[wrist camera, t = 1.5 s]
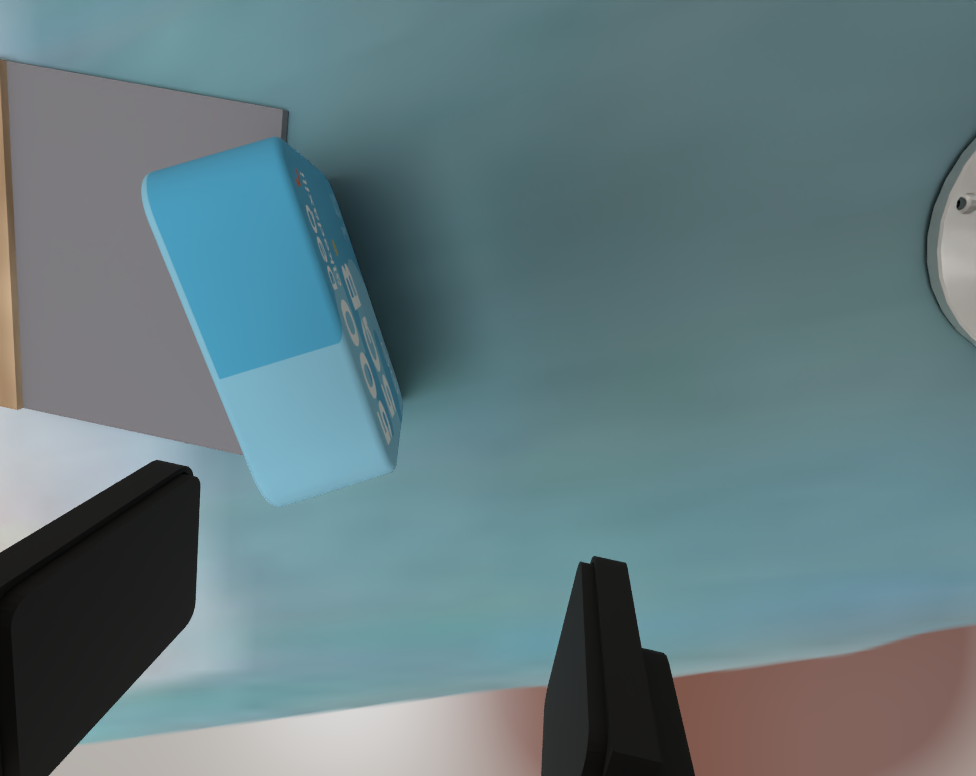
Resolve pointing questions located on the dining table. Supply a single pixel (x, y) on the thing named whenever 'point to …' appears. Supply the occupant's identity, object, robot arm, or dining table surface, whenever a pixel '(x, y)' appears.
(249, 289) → the data package
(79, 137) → the rubber mat
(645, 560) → the dining table surface
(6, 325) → the oak strip
